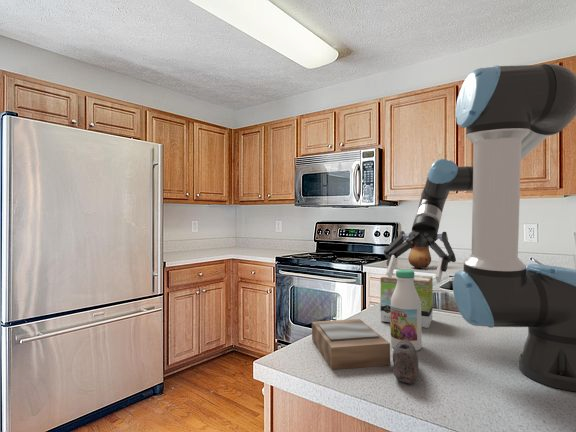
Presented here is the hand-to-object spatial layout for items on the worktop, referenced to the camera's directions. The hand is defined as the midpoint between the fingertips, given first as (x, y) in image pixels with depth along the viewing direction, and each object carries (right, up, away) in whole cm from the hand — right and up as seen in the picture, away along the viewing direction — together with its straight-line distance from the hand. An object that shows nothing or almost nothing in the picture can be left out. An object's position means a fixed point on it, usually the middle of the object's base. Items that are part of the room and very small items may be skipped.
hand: (412, 277), depth 101 cm
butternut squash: (+48, -16, +126) cm, 136 cm away
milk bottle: (-4, -17, -7) cm, 19 cm away
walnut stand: (-20, -17, -9) cm, 28 cm away
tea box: (+4, -17, +16) cm, 24 cm away
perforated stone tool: (-9, -17, -22) cm, 30 cm away
